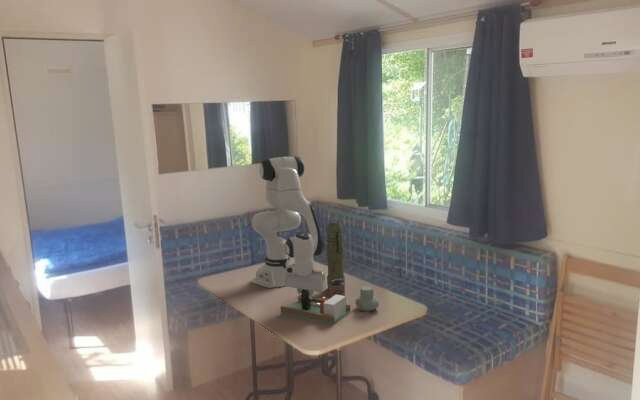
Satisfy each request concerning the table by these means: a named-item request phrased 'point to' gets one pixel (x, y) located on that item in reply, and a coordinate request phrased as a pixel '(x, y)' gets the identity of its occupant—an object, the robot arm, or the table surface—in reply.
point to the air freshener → (366, 299)
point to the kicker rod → (307, 302)
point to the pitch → (332, 310)
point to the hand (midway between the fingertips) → (305, 298)
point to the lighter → (336, 288)
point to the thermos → (335, 252)
